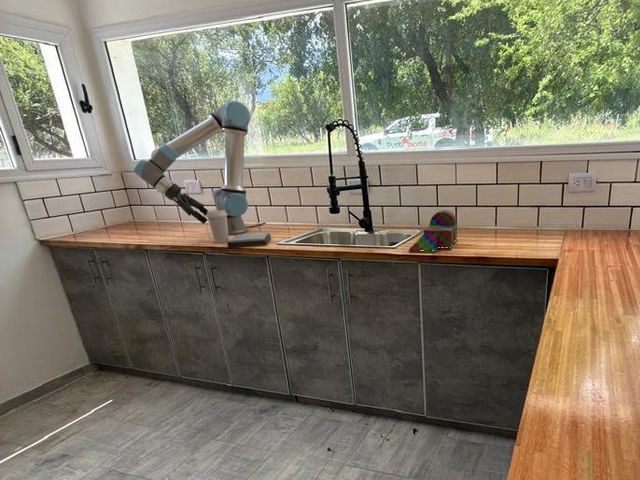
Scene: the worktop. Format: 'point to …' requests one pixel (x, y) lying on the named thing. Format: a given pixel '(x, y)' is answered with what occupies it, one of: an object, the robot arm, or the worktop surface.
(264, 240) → the kitchen scale
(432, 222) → the block
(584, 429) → the worktop surface
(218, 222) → the coffee cup
